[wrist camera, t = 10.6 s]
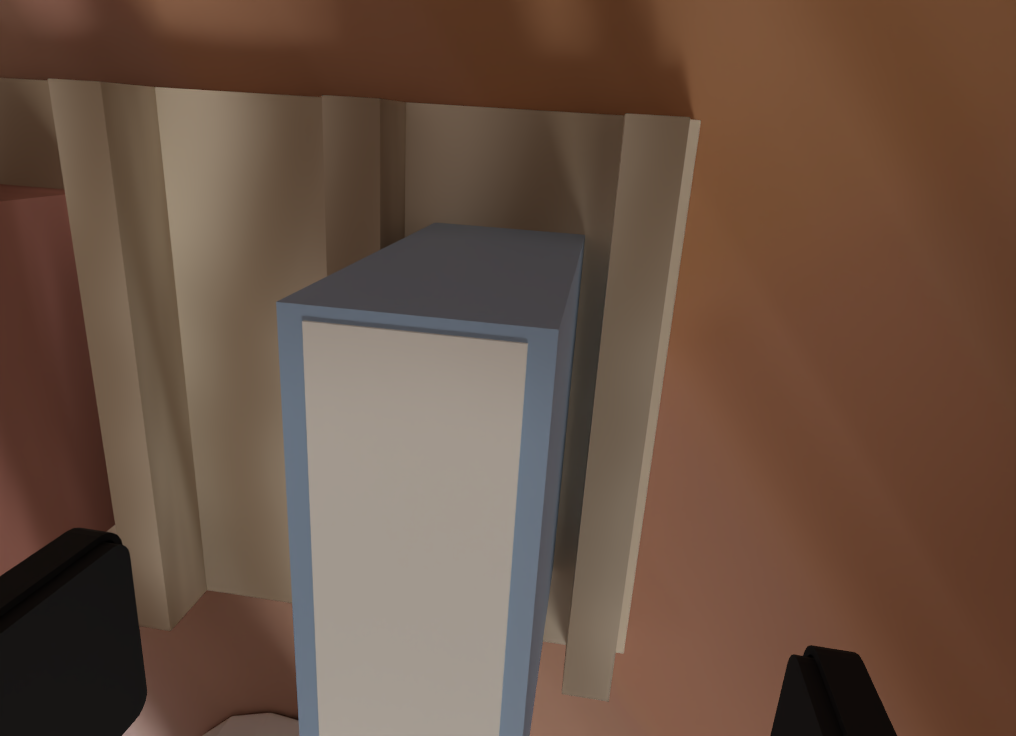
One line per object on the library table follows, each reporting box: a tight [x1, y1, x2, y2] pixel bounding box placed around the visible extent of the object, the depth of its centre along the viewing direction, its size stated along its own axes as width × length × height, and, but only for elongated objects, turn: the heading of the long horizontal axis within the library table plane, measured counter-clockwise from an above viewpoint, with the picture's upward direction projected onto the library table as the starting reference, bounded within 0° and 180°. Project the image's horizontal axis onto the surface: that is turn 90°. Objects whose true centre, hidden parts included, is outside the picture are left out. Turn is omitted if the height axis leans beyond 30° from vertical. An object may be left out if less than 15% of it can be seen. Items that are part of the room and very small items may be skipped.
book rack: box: [0, 78, 701, 702], centre depth 15 cm, size 20×14×9 cm
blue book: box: [276, 223, 585, 736], centre depth 13 cm, size 4×9×8 cm, turn 176°
